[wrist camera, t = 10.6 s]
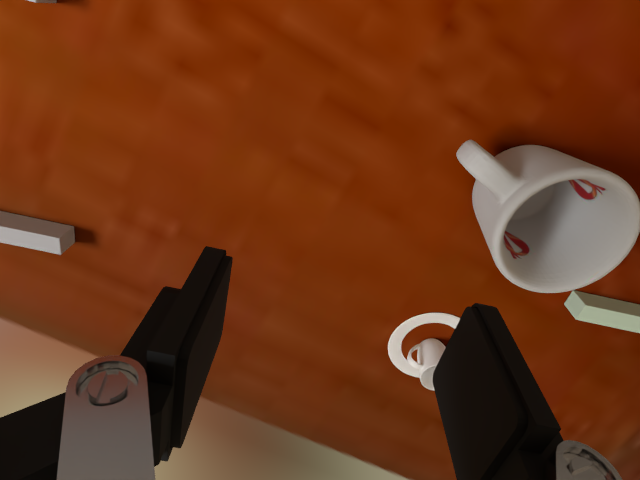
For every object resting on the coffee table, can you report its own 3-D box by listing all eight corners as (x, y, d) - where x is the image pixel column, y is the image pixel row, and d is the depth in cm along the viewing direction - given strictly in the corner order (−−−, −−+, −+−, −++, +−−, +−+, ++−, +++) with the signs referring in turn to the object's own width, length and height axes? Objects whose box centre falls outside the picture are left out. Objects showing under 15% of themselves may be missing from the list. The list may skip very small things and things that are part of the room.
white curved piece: (497, 348, 38) (513, 383, 35) (429, 390, 41) (438, 425, 38) (437, 294, 36) (448, 325, 32) (369, 342, 39) (372, 376, 35)
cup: (407, 173, 30) (427, 223, 23) (489, 79, 27) (542, 104, 20) (509, 250, 33) (555, 316, 26) (596, 174, 30) (675, 225, 23)
